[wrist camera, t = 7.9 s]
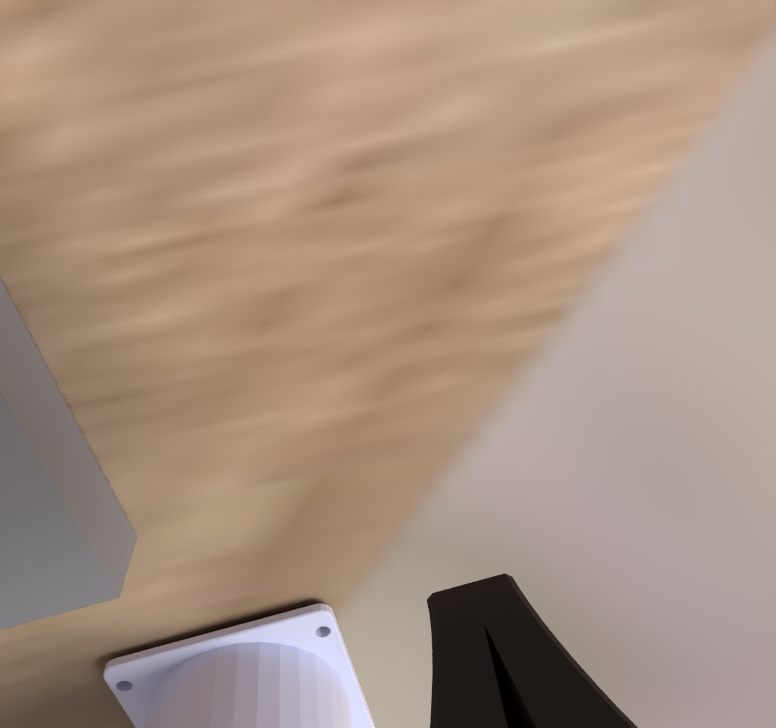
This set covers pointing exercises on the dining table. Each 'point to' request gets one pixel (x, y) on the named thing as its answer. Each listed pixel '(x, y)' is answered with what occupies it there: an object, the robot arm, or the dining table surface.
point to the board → (50, 494)
